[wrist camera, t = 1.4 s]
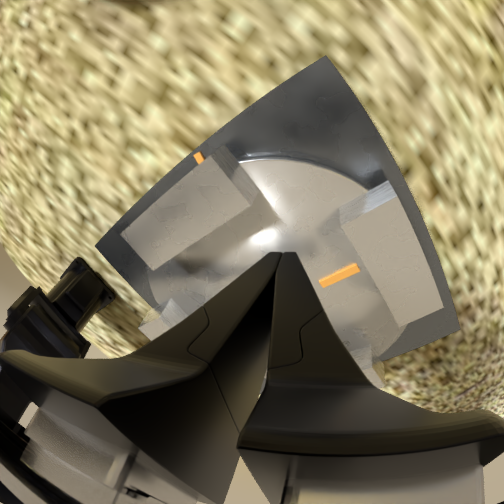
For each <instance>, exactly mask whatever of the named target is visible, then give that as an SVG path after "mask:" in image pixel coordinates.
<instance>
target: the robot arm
mask: <svg viewBox="0 0 504 504" xmlns="http://www.w3.org/2000/svg"><path fill="white" fill-rule="evenodd" d="M60 279H61V280H60V281H59V282H58V283H57V284H56V285H55V286H54V287H53V288H52V289H51V290H50V292H49V293H48V294H47V295H45V294H44V293H43V291H42V289H41V288H40V286H39V287H38V288H37V289H36V288H34V287H32V286H30V287H29V288H28V289H27V290H26V291H25V292H24V293H23V294H22V295H21V296H20V297H19V298H18V299H17V300H16V301H15V302H14V303H13V305H12V306H11V307H10V308H9V309H8V310H7V315H8V318H7V319H6V320H7V322H6V323H5V324H4V325H3V326H4V327H5V329H7V332H6V333H5V334H4V336H3V337H2V338H1V339H0V502H1V503H3V504H196V503H197V501H199V502H203V503H207V504H223V503H224V501H225V498H226V495H227V492H228V490H229V486H230V484H231V481H232V478H233V475H234V472H235V469H236V466H237V463H238V460H239V457H240V456H241V457H242V459H243V461H244V462H245V464H246V466H247V467H248V469H249V471H250V472H251V473H252V476H253V477H254V479H255V480H256V482H257V484H258V485H259V487H260V488H261V490H262V492H263V493H264V495H265V496H266V497H267V499H268V501H269V502H270V504H485V496H484V476H483V467H484V466H485V465H487V464H488V463H490V462H491V461H492V460H494V459H495V458H496V457H498V456H499V455H500V454H502V453H503V452H504V419H503V418H502V417H500V416H499V415H496V414H495V413H493V412H491V411H489V410H483V409H479V410H471V411H466V412H460V413H438V412H432V411H429V410H426V409H423V408H421V407H418V406H416V405H414V404H411V403H409V402H407V401H405V400H402V399H400V398H398V397H395V396H393V395H391V394H389V393H387V392H384V391H382V390H380V389H378V388H377V387H376V386H374V385H373V384H372V383H371V382H370V381H369V379H368V378H367V377H366V376H365V374H364V373H363V371H362V370H361V368H360V367H359V366H358V364H357V363H356V361H355V360H354V358H353V357H352V355H351V354H350V353H349V351H348V350H347V348H346V347H345V345H344V344H343V342H342V341H341V339H340V338H339V336H338V335H337V333H336V332H335V330H334V328H333V326H332V324H331V322H330V320H329V318H328V316H327V314H326V312H325V310H324V308H323V306H322V304H321V302H320V300H319V297H318V295H317V293H316V291H315V289H314V287H313V285H312V283H311V281H310V279H309V277H308V275H307V273H306V271H305V269H304V267H303V265H302V263H301V261H300V259H299V257H298V255H297V253H296V252H283V253H282V252H269V253H267V254H266V255H265V256H264V257H262V258H261V259H260V260H259V261H257V262H256V263H255V264H254V265H252V266H251V267H250V268H249V269H247V270H246V271H245V272H244V273H242V274H241V275H240V276H239V277H237V278H236V279H235V280H234V281H232V282H231V283H230V284H229V285H227V286H226V287H225V288H224V289H222V290H221V291H220V292H218V293H217V294H216V295H215V296H213V297H212V298H211V299H210V300H208V301H207V302H206V303H205V304H203V306H201V307H199V308H198V309H197V310H196V311H194V312H193V313H192V314H190V315H189V316H188V317H186V318H185V319H184V320H182V321H181V322H179V323H178V324H176V325H175V326H174V327H172V328H171V329H169V330H168V331H166V332H164V333H163V334H161V335H160V336H158V337H157V338H155V339H153V340H152V341H150V342H149V343H147V344H145V345H144V346H142V347H141V348H139V349H138V350H136V351H134V352H132V353H131V354H128V355H126V356H123V357H120V358H114V359H84V357H85V355H86V353H87V351H88V349H89V347H90V345H91V343H90V342H89V341H87V340H86V339H85V338H84V337H83V336H82V335H81V334H80V332H81V331H82V330H83V328H84V327H85V326H86V324H87V323H88V322H89V320H90V319H91V318H92V316H93V315H94V314H95V313H97V312H98V311H99V310H101V309H102V308H104V307H105V306H106V305H108V304H109V303H111V302H112V301H113V300H114V299H115V295H114V294H113V293H112V292H111V291H110V290H109V289H108V288H107V287H106V286H105V285H104V284H103V282H102V281H101V280H100V279H99V278H98V277H97V276H96V275H95V274H94V273H93V272H92V270H91V269H90V268H89V267H88V266H87V265H86V264H85V263H84V261H83V260H82V259H81V258H80V257H77V258H75V259H74V261H73V262H72V263H71V264H70V266H69V267H68V268H67V269H66V271H65V272H64V273H63V274H62V276H61V277H60ZM29 304H30V307H29ZM266 370H267V376H266V383H265V387H264V389H263V391H262V393H261V395H260V397H259V393H260V390H261V387H262V383H263V380H264V377H265V373H266ZM258 397H259V399H258ZM257 400H258V401H257ZM31 402H34V403H35V404H36V405H37V406H38V407H39V408H38V409H37V411H36V413H35V414H34V416H33V418H32V419H31V421H30V423H29V424H28V426H27V428H26V429H25V428H24V427H23V426H22V425H20V424H19V423H18V422H19V420H20V418H21V417H22V415H23V413H24V412H25V410H26V408H27V407H28V405H29V404H30V403H31ZM498 504H504V501H503V502H501V503H498Z"/></svg>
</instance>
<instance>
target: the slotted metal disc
mask: <svg viewBox="0 0 504 504" xmlns="http://www.w3.org/2000/svg"><path fill="white" fill-rule="evenodd" d="M121 236H122V237H123V238H124V239H125V240H126V241H127V243H128V244H129V245H130V246H131V247H132V248H133V249H134V250H135V252H136V253H137V254H138V255H139V256H140V257H141V258H142V259H143V260H144V261H145V263H146V267H147V275H148V280H149V284H150V287H151V290H152V293H153V296H154V298H155V300H156V302H157V304H158V306H156V307H154V308H152V309H150V310H149V311H148V313H147V314H146V316H145V318H144V319H143V321H142V322H141V324H140V325H139V327H138V329H139V330H140V331H141V332H142V333H143V334H144V335H145V336H147V337H148V338H149V339H150V340H151V341H152V340H153V339H155V338H157V337H158V336H160V335H161V334H163V333H164V332H166V331H168V330H169V329H171V328H172V327H174V326H175V325H176V324H178V323H179V322H181V321H182V320H184V319H185V318H186V317H188V316H189V315H190V314H192V313H193V312H194V311H196V310H197V309H198V308H199V307H201V306H203V304H205V303H206V302H207V301H208V300H210V299H211V298H212V297H213V296H215V295H216V294H217V293H218V292H220V291H221V290H222V289H224V288H225V287H226V286H227V285H229V284H230V283H231V282H232V281H234V280H235V279H236V278H237V277H239V276H240V275H241V274H242V273H244V272H245V271H246V270H247V269H249V268H250V267H251V266H252V265H254V264H255V263H256V262H257V261H259V260H260V259H261V258H262V257H264V256H265V255H266V254H267V253H269V252H282V253H283V252H296V253H297V255H298V257H299V259H300V261H301V263H302V265H303V267H304V269H305V271H306V273H307V275H308V277H309V279H310V281H311V283H312V285H313V287H314V289H315V291H316V293H317V295H318V297H319V300H320V302H321V304H322V306H323V308H324V310H325V312H326V314H327V316H328V318H329V320H330V322H331V324H332V326H333V328H334V330H335V332H336V333H337V335H338V336H339V338H340V339H341V341H342V342H343V344H344V345H345V347H346V348H347V350H348V351H349V353H350V354H351V355H352V357H353V358H354V360H355V361H356V363H357V364H358V366H359V367H360V368H361V370H362V371H363V373H364V374H365V376H366V377H367V378H368V379H369V381H370V382H371V383H372V384H373V385H374V386H376V387H377V388H378V389H379V388H382V387H385V373H384V364H383V362H382V361H381V359H380V358H379V356H380V355H381V354H382V353H384V352H385V351H386V350H387V349H388V348H389V347H390V346H391V345H392V344H393V343H394V342H395V341H396V340H397V339H398V338H399V336H400V335H401V334H402V332H403V331H404V330H405V328H406V326H407V324H408V323H410V322H413V321H415V320H417V319H419V318H422V317H424V316H426V315H429V314H431V313H433V312H435V311H437V310H439V309H442V308H444V306H443V303H442V301H441V298H440V295H439V292H438V289H437V286H436V284H435V281H434V278H433V276H432V273H431V270H430V268H429V265H428V263H427V260H426V258H425V255H424V253H423V250H422V248H421V246H420V243H419V241H418V239H417V236H416V234H415V232H414V230H413V228H412V225H411V223H410V221H409V219H408V217H407V215H406V213H405V211H404V208H403V206H402V204H401V202H400V200H399V198H398V196H397V195H396V193H395V191H394V189H393V187H392V186H391V184H390V182H389V181H386V182H384V183H382V184H380V185H379V186H377V187H375V188H373V189H369V188H368V187H366V186H365V185H363V184H362V183H360V182H359V181H357V180H356V179H354V178H353V177H351V176H349V175H347V174H345V173H342V172H340V171H338V170H336V169H334V168H331V167H329V166H325V165H322V164H319V163H315V162H312V161H308V160H303V159H296V158H289V157H256V158H249V159H243V160H236V158H235V157H234V156H233V155H232V153H231V152H230V151H229V150H228V148H227V147H226V146H225V145H223V146H222V147H221V148H219V149H218V150H217V151H215V152H214V153H213V154H211V155H210V156H209V157H208V158H206V159H205V160H204V161H203V162H201V163H200V164H199V165H198V166H196V167H195V168H194V169H193V170H192V171H190V172H189V173H188V174H187V175H186V176H184V177H183V178H182V179H181V180H180V181H178V182H177V183H176V184H175V185H174V186H173V187H171V188H170V189H169V190H168V191H167V192H166V193H165V194H163V195H162V196H161V197H160V198H159V199H158V200H157V201H155V202H154V203H153V204H152V205H151V206H150V207H149V208H148V209H147V210H146V211H144V212H143V213H142V214H141V215H140V216H139V217H138V218H137V219H136V220H135V221H134V222H133V223H131V224H130V225H129V226H128V227H127V228H126V229H125V230H124V231H123V232H122V233H121ZM266 376H267V370H266V373H265V377H264V378H266Z"/></svg>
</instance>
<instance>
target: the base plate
mask: <svg viewBox="0 0 504 504" xmlns="http://www.w3.org/2000/svg"><path fill="white" fill-rule="evenodd" d="M223 145H225V146H226V147H227V148H228V150H229V151H230V152H231V153H232V155H233V156H234V157H235V158H236V160H243V159H249V158H256V157H289V158H296V159H303V160H308V161H312V162H315V163H319V164H322V165H325V166H329V167H331V168H334V169H336V170H338V171H340V172H342V173H345V174H347V175H349V176H351V177H353V178H354V179H356V180H357V181H359V182H360V183H362V184H363V185H365V186H366V187H368V188H369V189H373V188H375V187H377V186H379V185H380V184H382V183H384V182H386V181H389V182H390V184H391V186H392V187H393V189H394V191H395V193H396V195H397V196H398V198H399V200H400V202H401V204H402V206H403V208H404V211H405V213H406V215H407V217H408V219H409V221H410V223H411V225H412V228H413V230H414V232H415V234H416V236H417V239H418V241H419V243H420V246H421V248H422V250H423V253H424V255H425V258H426V260H427V263H428V265H429V268H430V270H431V273H432V276H433V278H434V281H435V284H436V286H437V289H438V292H439V295H440V298H441V301H442V303H443V306H444V308H442V309H439V310H437V311H435V312H433V313H431V314H429V315H426V316H424V317H422V318H419V319H417V320H415V321H413V322H410V323H408V324H407V326H406V328H405V330H404V331H403V332H402V334H401V335H400V336H399V338H398V339H397V340H396V341H395V342H394V343H393V344H392V345H391V346H390V347H389V348H388V349H387V350H386V351H385V352H384V353H382V354H381V355H380V356H379V358H380V359H381V361H384V360H387V359H390V358H393V357H395V356H398V355H401V354H403V353H406V352H409V351H411V350H414V349H416V348H419V347H421V346H424V345H426V344H429V343H431V342H433V341H436V340H438V339H440V338H443V337H445V336H447V335H449V334H451V333H454V332H456V331H458V330H460V326H459V322H458V318H457V315H456V311H455V307H454V304H453V301H452V297H451V294H450V291H449V288H448V284H447V281H446V278H445V275H444V272H443V270H442V267H441V264H440V261H439V258H438V256H437V253H436V250H435V248H434V245H433V243H432V240H431V238H430V235H429V233H428V230H427V228H426V225H425V223H424V221H423V218H422V216H421V214H420V212H419V209H418V207H417V205H416V203H415V201H414V198H413V196H412V194H411V192H410V190H409V188H408V186H407V184H406V182H405V180H404V178H403V176H402V174H401V172H400V170H399V168H398V166H397V164H396V162H395V161H394V159H393V157H392V155H391V153H390V151H389V150H388V148H387V146H386V144H385V143H384V141H383V139H382V137H381V136H380V134H379V132H378V131H377V129H376V127H375V126H374V124H373V122H372V121H371V119H370V118H369V116H368V114H367V113H366V111H365V110H364V108H363V107H362V105H361V103H360V102H359V100H358V99H357V97H356V96H355V95H354V93H353V92H352V90H351V89H350V87H349V86H348V84H347V83H346V82H345V80H344V79H343V77H342V76H341V75H340V73H339V72H338V71H337V69H336V68H335V67H334V65H333V64H332V63H331V61H330V60H329V59H328V57H327V56H324V57H322V58H321V59H319V60H317V61H316V62H314V63H313V64H311V65H309V66H308V67H306V68H305V69H303V70H302V71H300V72H298V73H297V74H295V75H294V76H292V77H291V78H289V79H288V80H286V81H285V82H283V83H282V84H280V85H279V86H277V87H276V88H275V89H273V90H272V91H270V92H269V93H267V94H266V95H265V96H263V97H262V98H260V99H259V100H258V101H256V102H255V103H253V104H252V105H251V106H249V107H248V108H247V109H245V110H244V111H243V112H241V113H240V114H239V115H237V116H236V117H235V118H233V119H232V120H231V121H230V122H228V123H227V124H226V125H224V126H223V127H222V128H221V129H219V130H218V131H217V132H216V133H214V134H213V135H212V136H211V137H209V138H208V139H207V140H206V141H204V142H203V143H202V144H201V145H200V146H198V147H197V148H196V149H195V150H194V151H193V152H191V153H190V154H189V155H188V156H187V157H186V158H184V159H183V160H182V161H181V162H180V163H179V164H177V165H176V166H175V167H174V168H173V169H172V170H171V171H170V172H169V173H167V174H166V175H165V176H164V177H163V178H162V179H161V180H160V181H159V182H158V183H156V184H155V185H154V186H153V187H152V188H151V189H150V190H149V191H148V192H147V193H146V194H145V195H144V196H143V197H142V198H141V199H140V200H139V201H138V202H137V203H135V204H134V205H133V206H132V207H131V208H130V209H129V210H128V211H127V212H126V213H125V214H124V215H123V216H122V217H121V218H120V219H119V221H118V222H117V223H116V224H115V225H114V226H113V227H112V228H111V229H110V230H109V231H108V232H107V233H106V234H105V235H104V236H103V237H102V238H101V239H100V241H99V242H98V243H97V244H96V245H95V247H96V248H97V249H98V250H99V252H100V253H101V254H102V255H103V256H104V257H105V258H106V260H107V261H108V262H109V263H110V264H111V265H112V266H113V267H114V268H115V269H116V271H117V272H118V273H119V274H120V275H121V276H122V277H123V278H124V279H125V280H126V281H127V282H128V283H129V284H130V285H131V287H132V288H133V289H134V290H135V291H136V292H137V293H138V294H139V295H140V296H141V297H142V298H143V299H144V300H145V301H146V302H147V303H148V304H149V305H150V306H151V307H152V308H154V307H156V306H158V304H157V302H156V300H155V298H154V296H153V293H152V290H151V287H150V284H149V280H148V275H147V267H146V263H145V261H144V260H143V259H142V258H141V257H140V256H139V255H138V254H137V253H136V252H135V250H134V249H133V248H132V247H131V246H130V245H129V244H128V243H127V241H126V240H125V239H124V238H123V237H122V236H121V233H122V232H123V231H124V230H125V229H126V228H127V227H128V226H129V225H130V224H131V223H133V222H134V221H135V220H136V219H137V218H138V217H139V216H140V215H141V214H142V213H143V212H144V211H146V210H147V209H148V208H149V207H150V206H151V205H152V204H153V203H154V202H155V201H157V200H158V199H159V198H160V197H161V196H162V195H163V194H165V193H166V192H167V191H168V190H169V189H170V188H171V187H173V186H174V185H175V184H176V183H177V182H178V181H180V180H181V179H182V178H183V177H184V176H186V175H187V174H188V173H189V172H190V171H192V170H193V169H194V168H195V167H196V166H198V165H199V164H200V163H201V162H203V161H204V160H205V159H206V158H208V157H209V156H210V155H211V154H213V153H214V152H215V151H217V150H218V149H219V148H221V147H222V146H223ZM265 383H266V378H264V380H263V383H262V387H261V390H260V393H259V394H261V393H262V391H263V389H264V387H265Z"/></svg>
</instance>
